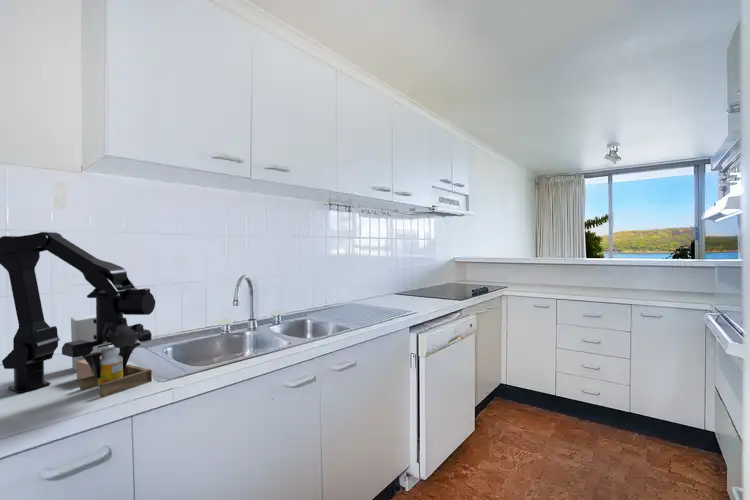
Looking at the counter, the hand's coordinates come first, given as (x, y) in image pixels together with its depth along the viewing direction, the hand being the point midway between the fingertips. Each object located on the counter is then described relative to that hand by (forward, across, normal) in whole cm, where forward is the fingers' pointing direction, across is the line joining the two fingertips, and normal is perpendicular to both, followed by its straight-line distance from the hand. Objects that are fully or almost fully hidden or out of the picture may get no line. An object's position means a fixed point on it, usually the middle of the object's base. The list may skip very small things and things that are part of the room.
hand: (110, 374), depth 96 cm
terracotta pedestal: (+3, +2, +11) cm, 12 cm away
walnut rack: (+3, +2, 0) cm, 4 cm away
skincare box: (+4, +6, +23) cm, 24 cm away
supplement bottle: (+3, 0, 0) cm, 3 cm away
